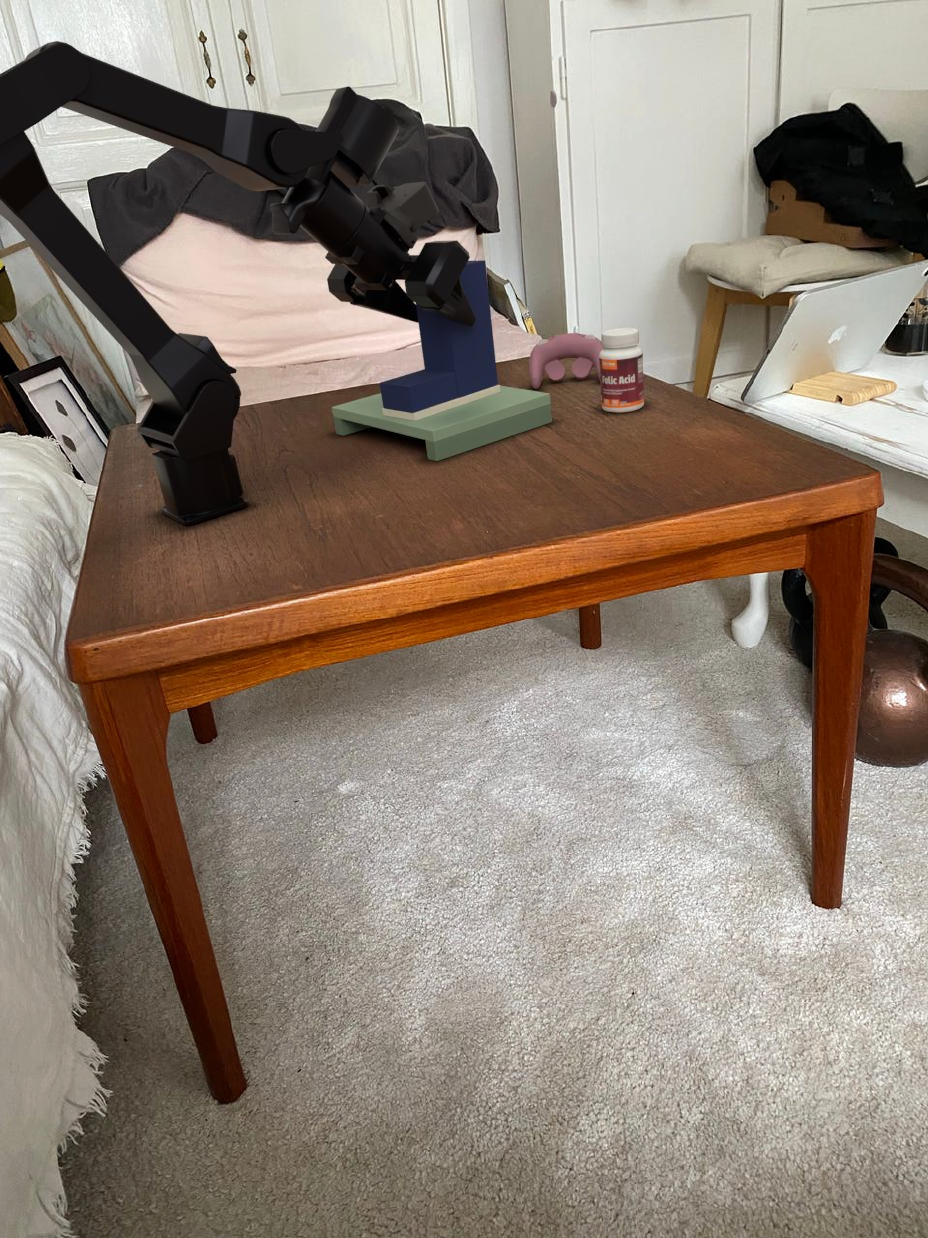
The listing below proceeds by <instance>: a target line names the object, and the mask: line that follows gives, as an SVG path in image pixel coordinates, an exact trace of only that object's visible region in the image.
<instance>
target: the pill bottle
mask: <svg viewBox="0 0 928 1238" xmlns="http://www.w3.org/2000/svg"><path fill="white" fill-rule="evenodd" d="M600 335H601V339H600V341H601V343H602V346H603V347H604V349H603V350H602V351H601V352H600V354H599V363H600V380H599V384H600V400H601V404H600V405H601V409H602V410H603V411H604V412H607V413H617V414H618V413H623V414H624V413H630V412H635V411H638V410H640V409H641V408H643V407H644V405H645V389H644V387H645V385H644V382H645V381H644V352H643V349H642V348H641V347H640V346H638V345H639V343H640V332H639V329H638V328H634V327H617V328H611V329H607V330H604V331H602V332H601V334H600Z"/></svg>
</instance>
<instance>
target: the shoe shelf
mask: <svg viewBox="0 0 928 1238" xmlns="http://www.w3.org/2000/svg"><path fill="white" fill-rule="evenodd" d="M551 402H552V401H551V393H549V392H543V391H538V390H537V391H536V390H530V389H524V388H519V387H518V388H517V387H512V386H505V385H500V392H499V393H496V394H493V395H490V396H487V397H484V398H481V399H478V400H475V401H472V402H470V403H467V404H464V405H461V406H458V407H455V408H452V409H449V410H446V411H443V412H440V413H437V414H434V415H432V416H429V417H426V418H423V419H420V420H417V421H413V420H407V419H401V418H396V417H390V416H384V415H383V412H382V408H383V402H382V395H381V392H379V393H376V394H373V395H369V396H366V397H362V398H358V399H355V400H352V401H349V402H348V401H347V402H345V403H344V402H343V403H342V404H337V405H334V406H331V412H332V417H333V425H334V429H335V434H336V435H339V436H347V435H350V434H354V433H358V432H361V431H364V430H366V429H371V428H376V429H380V430H383V431H388V432H393V433H395V434H399V435H403V436H408V437H412V438H416V439H420V440H424V441H425V449H426V454H427V459H428V460H431V461H434V462H440V461H442V460H445V459H448V458H451V457H454V456H457V455H459V454H463V453H466V452H468V451H472V450H475V449H477V448H481V447H484V446H486V445H489V444H493V443H495V442H499V441H501V440H504V439H507V438H510V437H513V436H516V435H518V434H521V433H525V432H528V431H530V430H533V429H537V428H539V427H542V426H546V425H548V424H551V423H553V414H552V413H553V412H552V403H551Z"/></svg>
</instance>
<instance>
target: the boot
mask: <svg viewBox="0 0 928 1238" xmlns="http://www.w3.org/2000/svg"><path fill="white" fill-rule="evenodd" d="M460 281H461V284H462V287H463V290H464V293H465V295H466V297H467V299H468V301H469V304H470V306H471V308H472V310H473V312H474V315H475V317H476V321H475V323H474V324H473V326H472V327H468V326H465V325H462V324H460V323H457V322H454V321H452V320H449V319H446V318H444V317H441V316H439V315H436V314H433V313H430V312H428V311H425V310H423V309H421V308H420V307H421V305H419V304H417V303H415V304H416V308H417V316H418V323H417V324H418V330H419V338H420V345H421V351H422V358H423V367H424V369H421V370H417V371H414V372H410V373H407V374H404V375H401V376H397V377H393V378H391V379H387V380H383V381H381V382H379V389H380V393H381V395H382V402H383V408H382V412H383V415H384V416H390V417H396V418H401V419H407V420H413V421H417V420H420V419H423V418H426V417H429V416H432V415H434V414H437V413H440V412H443V411H446V410H449V409H452V408H455V407H458V406H461V405H464V404H467V403H470V402H472V401H475V400H478V399H481V398H484V397H487V396H490V395H493V394H496V393H499V392H500V386H501V385H500V384H499V381H498V371H497V360H496V352H495V342H494V341H495V340H494V332H493V322H492V312H491V311H492V310H491V304H490V303H491V301H490V292H489V284H488V283H489V282H488V273H487V264H486V260H468V262H467V264H466V266H465V268H464V270H463V271H462V273H461V275H460Z"/></svg>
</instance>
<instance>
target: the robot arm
mask: <svg viewBox="0 0 928 1238" xmlns="http://www.w3.org/2000/svg"><path fill="white" fill-rule="evenodd" d="M61 108H63V109H66V110H69V111H72V112H73V113H74V112H75V113H78V114H80V115H83V116H86V117H88V118H91V119H93V120H97V121H100V122H103V123H105V124H108V125H110V126H114V127H116V128H119V129H122V130H124V131H127V132H131V133H133V134H135V135H138V136H141V137H145V138H147V139H150V140H153V141H155V142H157V143H162V144H164V145H167V146H170V147H173V148H175V149H178V150H179V151H180V150H181V151H184V152H186V153H189V154H191V155H193V156H195V157H197V158H198V159H200V160H201V161H203V162H204V163H205V164H207V165H208V166H209V168H211V169H212V170H214V171H215V173H217V174H219V175H221V176H222V177H224V178H226V179H228V180H229V181H231V182H233V183H235V184H237V185H238V186H240V187H242V188H244V189H245V190H248V191H254V192H262V191H273V190H282V189H288V191H287V193H286V195H285V196H284V198H283V200H282V202H275V203H271V204H270V205H269V209H270V212H271V216H272V217H271V226H272V232H273V234H274V235H275V236H276V235H277V236H278V235H296V233H297V232H298V230H299V228H301V229H302V230H303V231H305V233H307V234H308V235H309V236H310V237H311V238H313V240H314V241H316V242H317V243H318V244H319V245H320V246H321V247H322V248H324V249H325V250H326V251H327V253H326V255H325V256H324V259H326V261H328V262H329V263H330V264H331V265H334V266H333V267H332V269H331V271H330V273H329V275H328V276H327V278H326V282H327V289H328V292H329V293H330V294H331V295H333V296H334V298H336V299H337V300H338V301H340V302H341V303H349V304H350V305H352V306H356V307H360V308H364V309H367V310H371V311H375V312H379V313H382V314H385V315H389V316H392V317H396V318H399V319H403V320H406V321H410V322H414V323H416V324H419V323H418V316H417V308H416V303H417V304H419V305H421V307H420V308H421V309H423V310H425V311H428V312H430V313H433V314H436V315H439V316H441V317H444V318H446V319H449V320H452V321H454V322H457V323H460V324H462V325H465V326H468V327H472V326H473V324H474V323H475V321H476V317H475V315H474V312H473V310H472V308H471V306H470V304H469V301H468V299H467V297H466V295H465V293H464V290H463V287H462V284H461V281H460V275H461V273H462V271H463V270H464V268H465V266H466V264H467V262H468V261H470V258H471V256H470V252H469V251H468V250H467V249H466V248H465V247H464V246H463V245H462V244H461V242H459V241H458V240H457V239H456V240H455V239H454V240H434V241H433V240H432V241H428V242H424V245H423V246H422V248H421V250H420V251H419V254H410V252H409V251H410V250H412V249H414V247H415V245H416V243H417V242H418V239H419V238H418V237H417V235H416V234H414V233H415V232H416V231H418V230H419V229H420V228H421V227H423V226H424V225H425V224H426V223H427V222H428V221H429V220H430V219H431V218H432V219H434V218H436V217H437V216H438V215H439V213H440V209H439V207H438V205H437V203H436V201H435V199H434V197H433V194H432V193H431V190H430V188H429V187H428V184H427V183H426V181H418V182H417V181H415V182H408V183H403V184H400V185H395V186H393V187H392V189H391V188H390V187H389V185H386V184H380V185H379V184H378V185H374V186H372V187H371V189H369V190H368V191H366V198H367V199H366V200H367V204H366V203H364V201H363V200H362V199H360V197H358V195H356V194H355V193H354V192H353V190H351V189H350V188H356V187H357V186H358V185H363V186H367V185H370V184H371V183H372V182H373V179H374V178H375V176H376V174H377V172H378V170H379V169H380V167H381V165H382V163H383V161H384V159H385V158H386V156H387V154H388V152H389V150H390V149H391V147H392V145H393V143H394V141H395V140H396V138H397V136H398V134H399V132H400V128H399V124H398V121H397V120H396V118H395V117H394V115H393V114H392V113H391V111H390V110H388V108H387V107H385V106H381V105H380V104H378V103H377V102H375V101H374V100H373V99H371V98H369V97H366V96H364V95H361V94H358V93H356V91H355V90H354V89H353V88H352V87H351V86H349V85H348V86H344V87H340V88H336V89H335V92H333V94H332V97H331V98H330V101H329V105H328V108H327V110H326V111H325V113H324V115H323V117H322V119H321V121H320V122H319V124H318V126H317V128H316V130H305V129H303V127H302V126H301V125H300V124H299V123H298V122H296V121H295V120H293V119H292V118H290V117H287V116H285V115H279V114H276V113H275V114H274V113H268V112H264V111H258V110H251V109H241V108H230V107H223V106H219V105H213V104H212V103H211V104H210V103H208V102H205V101H203V100H201V99H198V98H195V97H193V96H191V95H188V94H185V93H183V92H180V91H178V90H176V89H173V88H171V87H168V86H166V85H163V84H161V83H158V82H155V81H154V80H150V79H148V78H145V77H144V76H140V75H138V74H136V73H133V72H131V71H128V70H125V69H123V68H121V67H118V66H115V65H113V64H111V63H108V62H106V61H103V60H101V59H99V58H96V57H93V56H91V55H88V54H85V53H83V52H82V51H80V50H79V49H77V48H76V47H75V46H73V45H72V44H70V43H67V42H63V41H58V40H55V41H49V42H46V43H44V44H42V45H41V46H39V47H37V48H35V49H33V50H32V51H31V52H29V53H28V54H26V57H25V59H23V60H22V61H20V62H19V63H17V64H15V65H13V66H12V67H10V68H8V69H6V70H5V71H3V72H1V73H0V216H1V217H2V218H4V219H5V220H6V221H7V222H9V224H10V225H12V227H13V228H14V229H15V230H16V231H17V232H18V233H19V235H20V236H21V237H22V238H23V239H24V240H25V241H26V242H27V244H28V245H29V246H30V247H31V248H32V249H33V250H34V252H36V253H37V255H38V256H39V257H40V258H41V259H42V260H43V261H44V262H45V263H46V265H47V266H48V267H49V268H50V269H51V270H52V271H53V273H55V275H56V276H57V277H58V278H59V279H60V280H61V281H62V282H63V284H64V285H65V286H66V287H67V288H69V290H70V291H71V293H72V294H74V296H75V297H76V298H77V299H78V301H80V302H81V304H82V305H83V306H84V307H85V308H87V310H88V311H89V312H90V313H91V315H92V316H93V317H94V318H95V319H96V320H97V321H98V322H99V323H100V324H101V326H102V327H103V328H104V329H105V330H106V331H107V332H108V333H109V334H110V335H111V337H112V338H113V339H114V340H115V341H116V342H117V343H118V344H119V345H120V347H121V348H122V349H123V350H124V351H125V352H126V353H127V355H128V356H129V358H130V360H131V361H132V364H133V366H134V368H135V370H136V374H137V376H138V378H139V380H140V383H141V385H142V387H143V388H144V390H145V391H146V392H147V394H148V396H149V397H150V399H151V402H150V405H149V407H148V408H147V410H146V412H145V414H144V416H143V417H142V419H141V420H140V422H139V424H138V426H137V428H136V431H137V433H138V435H139V436H140V438H141V439H142V440H143V442H144V443H145V445H146V446H147V447H148V448H150V449H156V450H157V451H155V452H153V453H151V458H152V461H153V464H154V468H155V472H156V476H157V479H158V483H159V487H160V491H161V494H162V498H163V502H164V505H163V506H161V507H160V508H159V509H160V513H161V514H163V515H165V516H167V517H168V518H171V519H172V520H174V521H175V522H178V523H180V524H181V525H183V526H190V525H194V524H198V523H200V522H203V521H206V520H210V519H212V518H215V517H219V516H222V515H225V514H228V513H230V512H233V511H236V510H240V509H243V508H246V507H248V506H249V503H248V500H247V499H245V498H243V495H244V489H243V486H242V480H241V476H240V472H239V468H238V465H237V459H236V455H234V454H233V453H231V452H230V451H229V449H231V447H232V442H233V432H234V422H235V419H236V417H237V416H238V414H239V410H240V407H241V396H242V391H241V388H240V385H239V383H238V382H237V381H236V379H235V378H234V376H232V375H234V374H236V373H237V372H238V370H237V368H235V367H233V366H232V365H230V364H228V363H227V362H226V361H225V360H224V359H223V358H222V356H221V355H220V353H219V351H218V349H217V348H216V346H215V345H214V343H213V342H212V341H211V340H210V339H209V337H208V336H206V335H200V334H199V335H198V334H190V333H183V332H178V333H177V332H175V330H173V329H172V328H171V327H170V325H169V324H168V323H167V322H166V321H165V320H164V319H163V317H162V316H161V315H160V314H159V313H158V311H157V310H156V309H155V308H154V307H153V306H152V305H151V304H150V302H149V301H148V300H147V299H146V297H145V296H144V295H143V294H142V293H141V291H140V290H139V289H138V288H137V287H136V286H135V285H134V283H133V282H132V281H131V280H130V279H129V277H128V276H127V275H126V274H125V273H124V271H123V270H122V269H121V267H119V266H118V264H117V263H116V261H114V260H113V259H112V257H111V256H110V255H109V254H108V252H107V251H106V250H105V249H104V248H103V247H102V246H101V244H100V243H99V242H98V241H97V240H96V238H95V237H94V236H93V234H91V232H90V231H89V230H88V229H87V228H86V226H85V225H84V224H83V223H82V222H81V220H80V219H79V218H78V217H77V216H76V215H75V213H73V211H72V210H71V209H70V208H69V207H68V205H67V204H66V203H65V202H64V200H63V199H62V198H61V197H60V196H59V195H58V193H57V192H56V191H55V190H54V188H53V186H52V184H51V183H50V181H49V178H48V176H47V174H46V172H45V169H44V167H43V165H42V162H41V159H40V158H39V155H38V153H37V150H36V148H35V146H34V145H33V143H32V142H31V140H30V138H29V136H28V135H27V134H26V131H27V130H29V129H31V128H33V127H34V126H35V125H37V124H38V123H40V122H42V121H43V120H44V119H46V118H47V117H49V116H50V115H51V114H53V113H55V112H56V111H57V110H59V109H61ZM397 281H404V287H405V290H404V289H403V288H402V286H401V284H399V283H398V282H397Z"/></svg>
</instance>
